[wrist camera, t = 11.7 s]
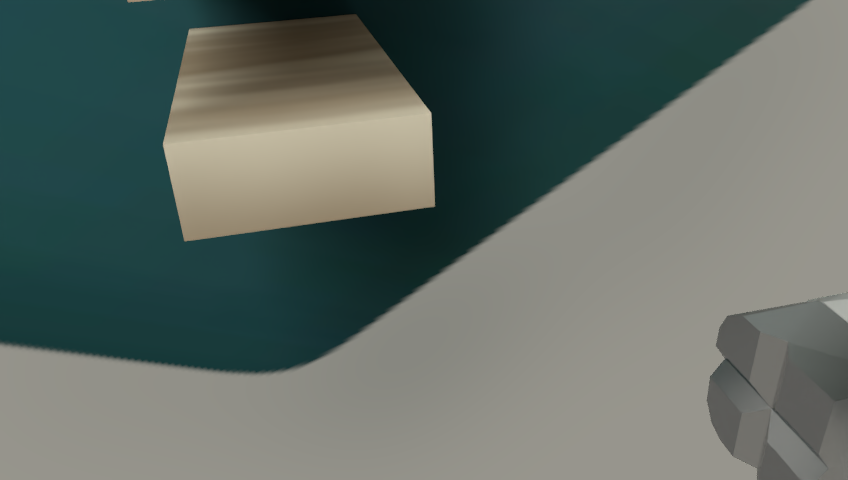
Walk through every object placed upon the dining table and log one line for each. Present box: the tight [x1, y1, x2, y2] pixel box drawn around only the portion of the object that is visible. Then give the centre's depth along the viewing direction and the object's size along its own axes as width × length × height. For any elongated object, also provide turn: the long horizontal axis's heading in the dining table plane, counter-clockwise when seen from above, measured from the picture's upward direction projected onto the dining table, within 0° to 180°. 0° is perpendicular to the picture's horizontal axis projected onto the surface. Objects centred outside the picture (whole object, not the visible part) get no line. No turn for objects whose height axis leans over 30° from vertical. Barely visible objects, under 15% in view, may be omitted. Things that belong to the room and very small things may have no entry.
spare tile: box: [163, 14, 435, 241], centre depth 19 cm, size 2×5×10 cm, turn 93°
